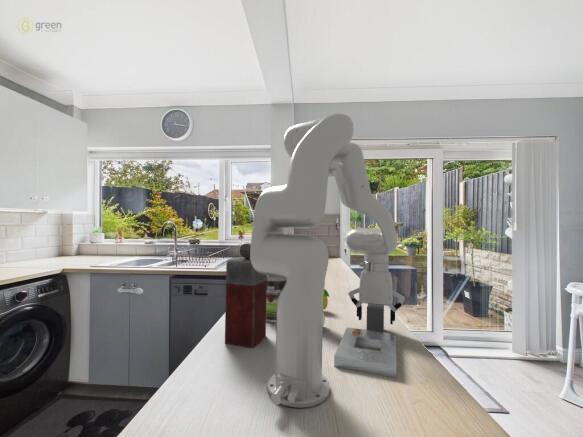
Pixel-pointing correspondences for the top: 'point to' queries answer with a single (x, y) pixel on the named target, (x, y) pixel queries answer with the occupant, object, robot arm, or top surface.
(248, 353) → the top surface
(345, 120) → the robot arm
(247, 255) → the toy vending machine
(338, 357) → the socket plate
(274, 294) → the coffee can
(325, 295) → the lemon
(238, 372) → the top surface
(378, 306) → the plug
